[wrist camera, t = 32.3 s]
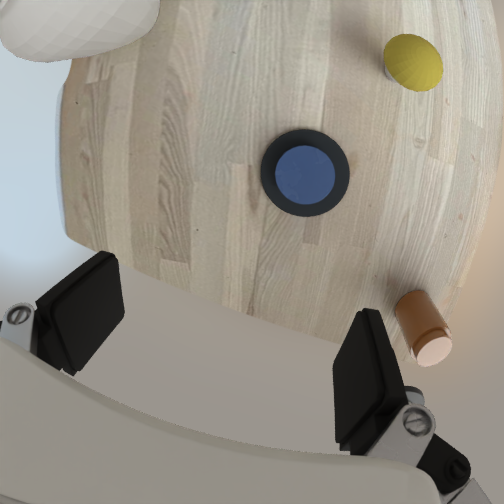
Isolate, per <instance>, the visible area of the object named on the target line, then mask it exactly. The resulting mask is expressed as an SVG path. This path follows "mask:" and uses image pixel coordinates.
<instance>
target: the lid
mask: <svg viewBox="0 0 504 504" xmlns="http://www.w3.org/2000/svg"><path fill="white" fill-rule="evenodd" d="M275 178H276V183H277V186H278V188H279V190H280V191H281V192H282V194H283V195H284V196H285V197H286V198H288V199H289V200H291V201H293V202H295V203H298V204H313V203H316V202H319V201H321V200H322V199H324V198H325V197H326V196H327V195H328V194H329V193H330V191H331V190H332V188H333V185H334V182H335V170H334V166H333V164H332V162H331V160H330V159H329V157H328V156H327V154H325V153H324V152H322V151H321V150H319V149H317V147H312V146H308V145H301V146H296V147H293V148H291V149H289V150H288V151H286V152H285V153H283V155H282V157H281V158H280V159H279V161H278V162H277V166H276V171H275Z"/></svg>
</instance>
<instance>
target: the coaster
mask: <svg viewBox="0 0 504 504" xmlns="http://www.w3.org/2000/svg"><path fill="white" fill-rule="evenodd" d="M301 145H308V146H312V147H317V149H319V150H321V151H322V152H324V153H325V154H327V156H328V157H329V159H330V160H331V162H332V164H333V166H334V170H335V182H334V185H333V188H332V190H331V191H330V193H329V194H328V195H327V196H326V197H325V198H324V199H322V200H321V201H319V202H316V203H313V204H298V203H295V202H293V201H291V200H289V199H288V198H286V197H285V196H284V195H283V194H282V192H281V191H280V190H279V188H278V186H277V183H276V178H275V171H276V166H277V162H278V161H279V159H280V158H281V157H282V155H283V153H285V152H286V151H288V150H289V149H291V148H293V147H296V146H301ZM349 177H350V171H349V165H348V161H347V158H346V156H345V154H344V152H343V150H342V149H341V148H340V146H339V145H338V144H337V143H336V142H335V141H334V140H332V139H331V138H330V137H328V136H326V135H325V134H322V133H320V132H317V131H313V130H295V131H291V132H288V133H286V134H284V135H282V136H280V137H279V138H277V139H276V140H275V141H274V142H273V143H272V144H271V145H270V146H269V148H268V149H267V151H266V153H265V154H264V157H263V160H262V164H261V180H262V184H263V187H264V190H265V192H266V194H267V195H268V197H269V198H270V200H271V201H272V202H273V203H274V204H275V205H276V206H277V207H279V208H280V209H282V210H283V211H285V212H287V213H290V214H292V215H296V216H302V217H310V216H317V215H320V214H323V213H325V212H327V211H329V210H331V209H332V208H333V207H335V206H336V205H337V204H338V203H339V202H340V200H341V199H342V198H343V196H344V194H345V192H346V190H347V187H348V184H349Z"/></svg>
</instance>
